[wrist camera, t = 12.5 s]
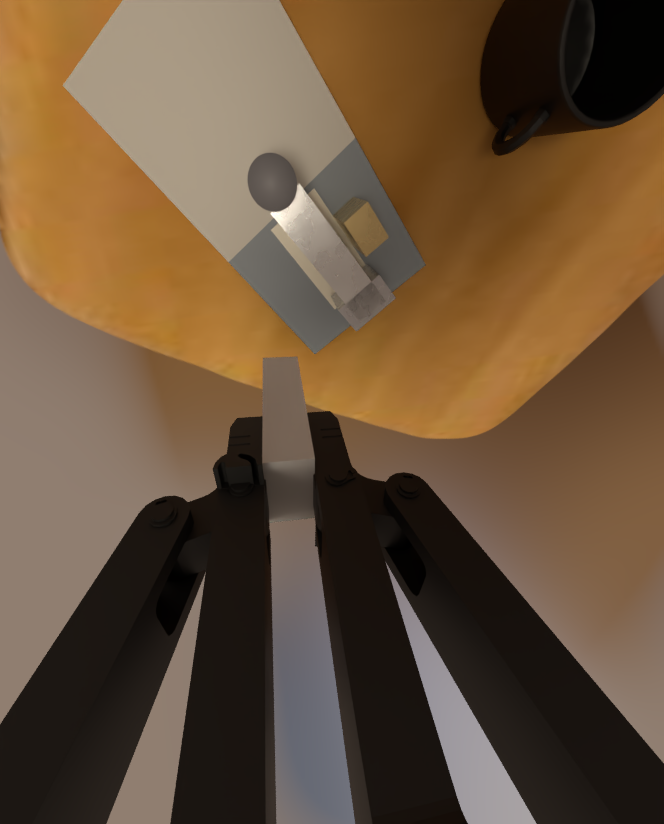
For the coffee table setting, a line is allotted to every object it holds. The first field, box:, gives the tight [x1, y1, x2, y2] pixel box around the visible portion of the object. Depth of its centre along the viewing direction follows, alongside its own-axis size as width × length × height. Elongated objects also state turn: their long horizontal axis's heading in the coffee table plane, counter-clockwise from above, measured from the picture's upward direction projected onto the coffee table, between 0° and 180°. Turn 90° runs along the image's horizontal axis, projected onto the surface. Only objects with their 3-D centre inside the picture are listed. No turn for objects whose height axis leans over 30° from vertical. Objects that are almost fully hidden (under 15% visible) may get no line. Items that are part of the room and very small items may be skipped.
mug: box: [481, 0, 664, 156], centre depth 23 cm, size 9×12×9 cm
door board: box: [63, 0, 426, 354], centre depth 25 cm, size 14×26×7 cm, turn 38°
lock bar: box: [270, 183, 396, 331], centre depth 28 cm, size 11×4×4 cm, turn 40°
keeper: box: [333, 197, 389, 257], centre depth 27 cm, size 2×3×5 cm
